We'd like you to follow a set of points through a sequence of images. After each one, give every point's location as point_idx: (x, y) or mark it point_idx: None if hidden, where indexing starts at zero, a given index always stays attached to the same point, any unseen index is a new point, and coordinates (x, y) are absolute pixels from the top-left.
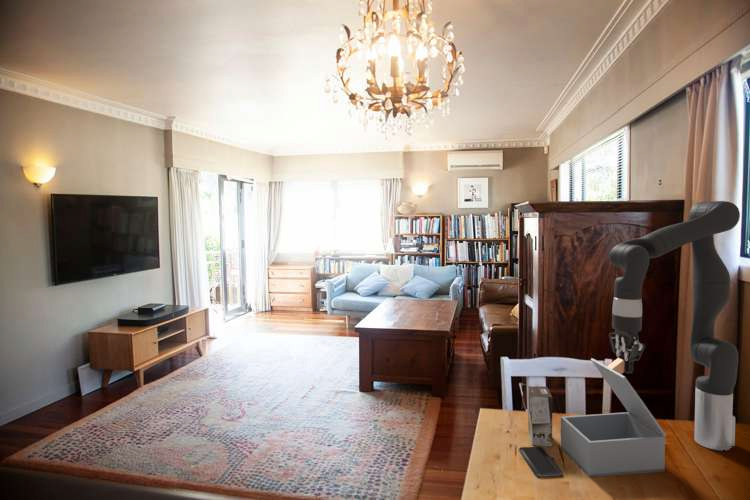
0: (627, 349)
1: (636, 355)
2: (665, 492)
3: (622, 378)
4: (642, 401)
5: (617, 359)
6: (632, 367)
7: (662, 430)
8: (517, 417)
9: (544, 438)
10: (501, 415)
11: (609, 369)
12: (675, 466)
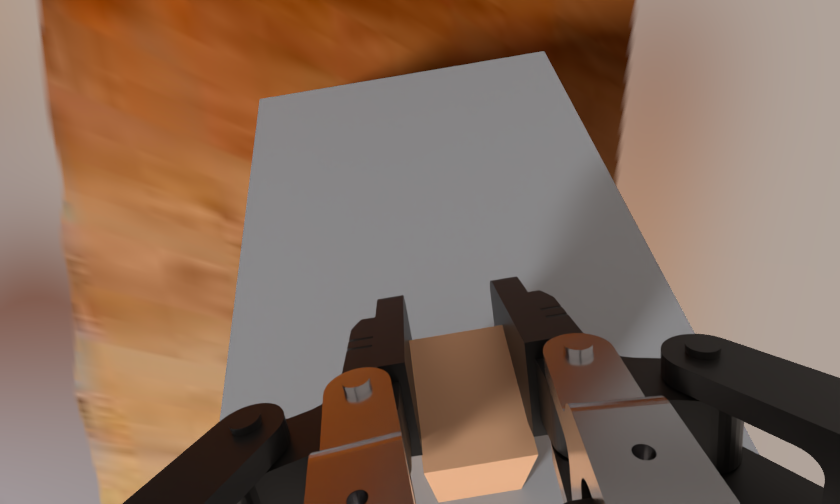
0: (403, 444)
1: (731, 408)
2: (616, 135)
3: None
4: (635, 224)
5: (448, 475)
6: (565, 321)
7: (554, 74)
8: (145, 431)
9: None
10: (139, 475)
11: None
12: (471, 6)
